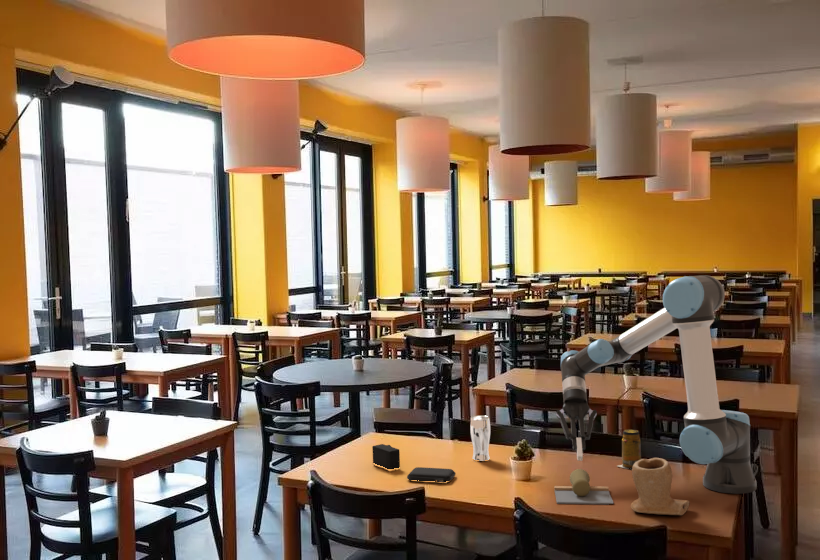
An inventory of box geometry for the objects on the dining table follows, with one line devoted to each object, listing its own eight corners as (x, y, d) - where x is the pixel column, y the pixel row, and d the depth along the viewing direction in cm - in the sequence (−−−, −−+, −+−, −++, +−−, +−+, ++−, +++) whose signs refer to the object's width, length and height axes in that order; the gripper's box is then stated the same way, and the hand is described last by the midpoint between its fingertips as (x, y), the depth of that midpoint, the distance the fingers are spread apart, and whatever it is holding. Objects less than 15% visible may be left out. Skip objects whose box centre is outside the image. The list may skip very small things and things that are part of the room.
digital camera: (403, 468, 270) (402, 448, 270) (390, 471, 267) (389, 451, 266) (385, 462, 278) (385, 443, 278) (373, 465, 275) (372, 445, 275)
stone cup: (627, 517, 216) (626, 463, 215) (633, 503, 227) (633, 452, 226) (686, 523, 210) (685, 467, 209) (689, 509, 221) (689, 456, 220)
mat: (554, 489, 242) (554, 485, 242) (607, 490, 240) (607, 486, 240) (556, 503, 229) (556, 499, 229) (613, 504, 227) (613, 500, 227)
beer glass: (494, 458, 279) (493, 416, 279) (485, 463, 273) (484, 420, 273) (476, 456, 283) (475, 414, 282) (467, 461, 277) (466, 418, 276)
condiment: (629, 462, 270) (628, 427, 269) (650, 467, 263) (650, 431, 263) (616, 466, 265) (615, 431, 265) (638, 471, 259) (637, 435, 258)
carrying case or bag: (404, 484, 253) (449, 486, 249) (404, 474, 253) (448, 477, 249) (413, 474, 264) (456, 477, 259) (413, 465, 263) (456, 468, 259)
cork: (591, 470, 242) (593, 480, 231) (588, 489, 242) (590, 501, 231) (571, 467, 243) (572, 477, 232) (568, 486, 243) (569, 497, 232)
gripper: (594, 400, 259) (601, 464, 243) (554, 400, 261) (558, 464, 245) (595, 387, 254) (602, 452, 238) (554, 387, 255) (558, 451, 239)
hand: (580, 458), depth 241 cm, fingers closed
